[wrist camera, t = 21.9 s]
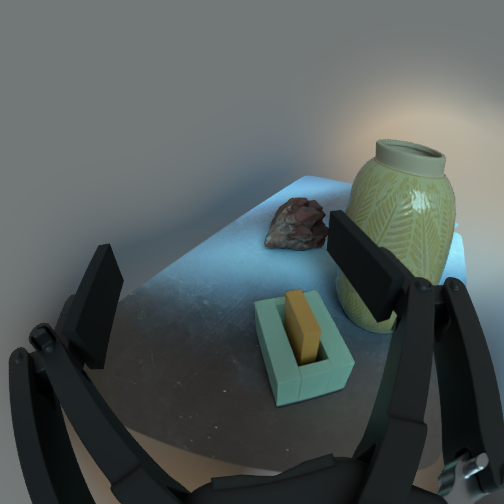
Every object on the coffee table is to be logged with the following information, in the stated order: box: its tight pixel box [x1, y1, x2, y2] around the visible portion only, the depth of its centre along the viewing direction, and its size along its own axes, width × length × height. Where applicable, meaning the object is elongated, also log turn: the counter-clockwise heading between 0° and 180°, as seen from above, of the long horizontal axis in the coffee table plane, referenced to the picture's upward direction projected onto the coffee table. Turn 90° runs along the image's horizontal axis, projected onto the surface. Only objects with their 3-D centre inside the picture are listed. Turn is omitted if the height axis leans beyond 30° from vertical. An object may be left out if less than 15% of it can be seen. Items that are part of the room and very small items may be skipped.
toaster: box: [254, 290, 355, 408], centre depth 34 cm, size 14×9×7 cm, turn 11°
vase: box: [336, 139, 456, 334], centre depth 35 cm, size 17×17×27 cm
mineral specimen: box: [264, 198, 329, 251], centre depth 58 cm, size 12×13×15 cm
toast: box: [284, 289, 321, 367], centre depth 32 cm, size 7×2×10 cm, turn 11°
